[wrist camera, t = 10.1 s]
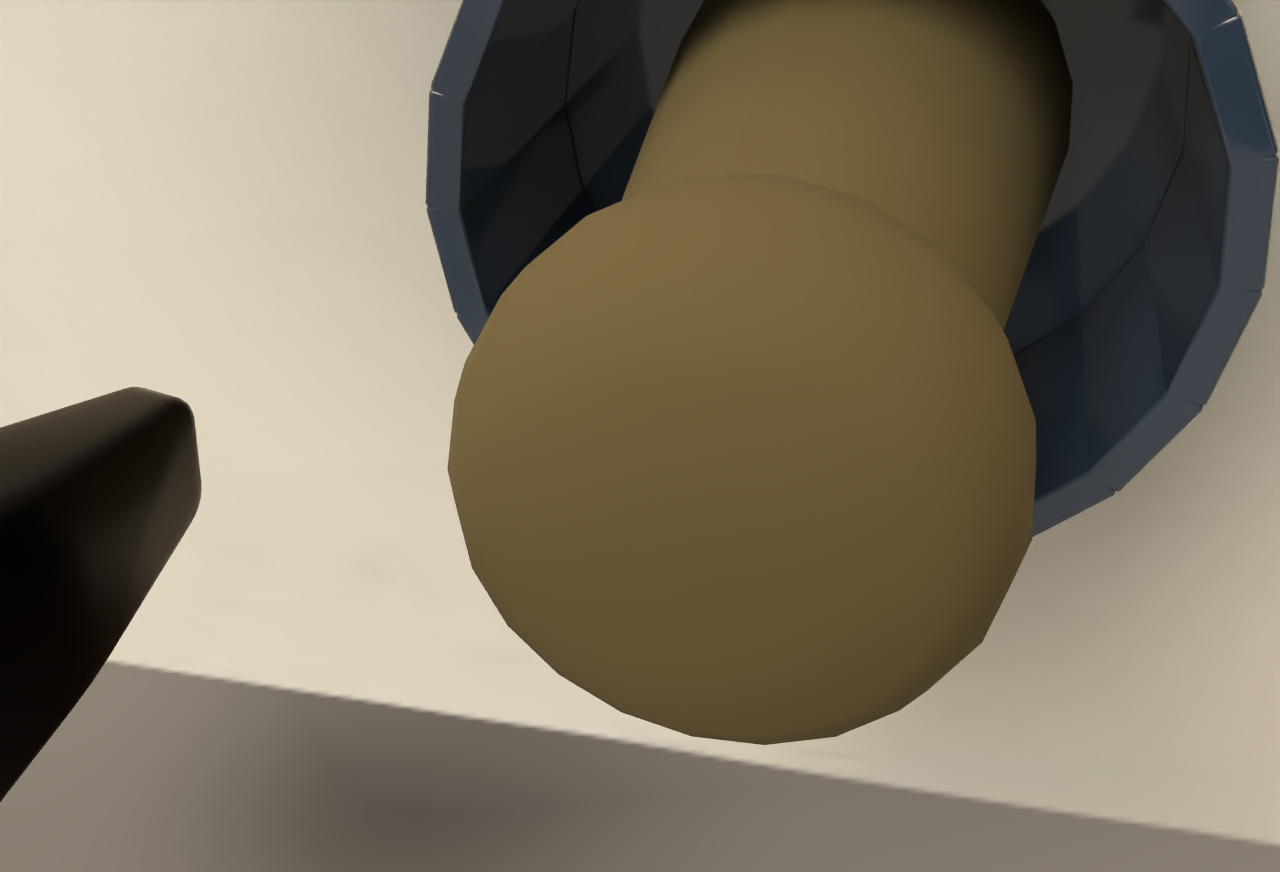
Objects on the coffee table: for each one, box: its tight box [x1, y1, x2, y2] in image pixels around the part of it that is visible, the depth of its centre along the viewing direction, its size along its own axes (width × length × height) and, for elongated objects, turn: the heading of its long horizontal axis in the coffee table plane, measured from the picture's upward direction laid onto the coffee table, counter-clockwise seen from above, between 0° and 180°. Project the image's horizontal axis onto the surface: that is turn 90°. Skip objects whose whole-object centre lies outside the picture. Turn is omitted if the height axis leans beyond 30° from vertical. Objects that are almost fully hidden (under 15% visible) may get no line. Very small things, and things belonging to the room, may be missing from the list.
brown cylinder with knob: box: [448, 0, 1073, 745], centre depth 14 cm, size 6×6×11 cm
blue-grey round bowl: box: [426, 0, 1279, 537], centre depth 17 cm, size 10×10×5 cm
